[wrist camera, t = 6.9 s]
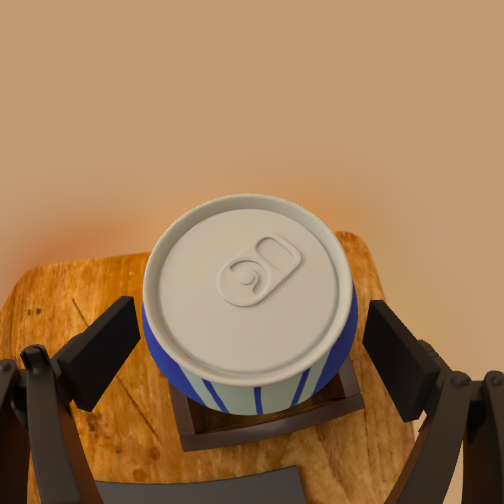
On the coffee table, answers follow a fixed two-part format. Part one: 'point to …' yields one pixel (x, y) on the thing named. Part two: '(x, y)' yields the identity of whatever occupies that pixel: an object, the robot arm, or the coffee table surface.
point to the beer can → (249, 304)
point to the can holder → (199, 438)
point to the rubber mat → (212, 490)
